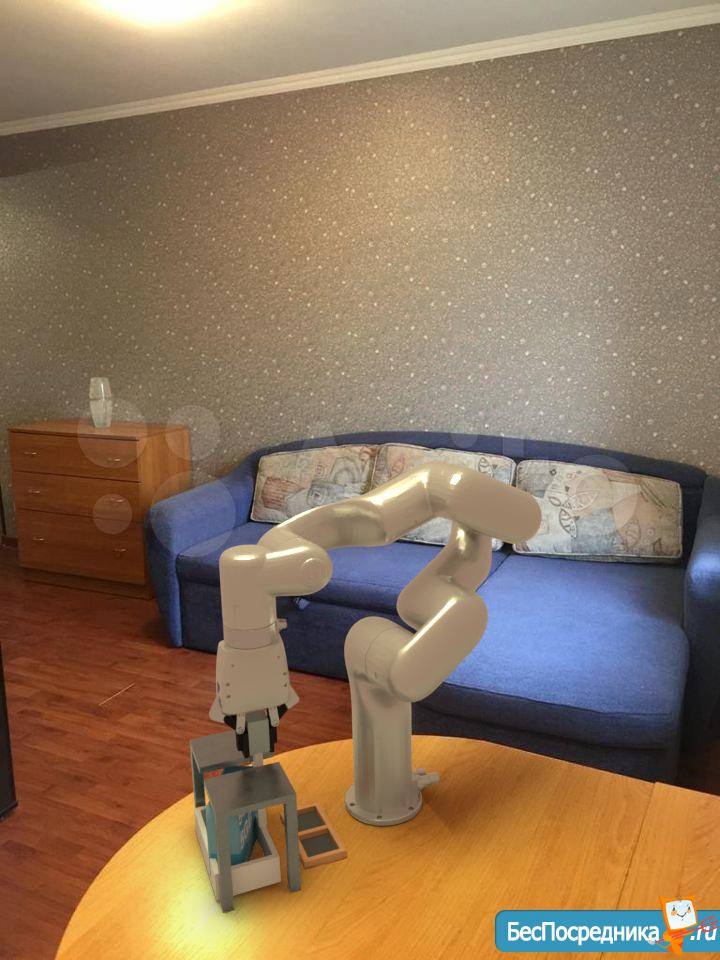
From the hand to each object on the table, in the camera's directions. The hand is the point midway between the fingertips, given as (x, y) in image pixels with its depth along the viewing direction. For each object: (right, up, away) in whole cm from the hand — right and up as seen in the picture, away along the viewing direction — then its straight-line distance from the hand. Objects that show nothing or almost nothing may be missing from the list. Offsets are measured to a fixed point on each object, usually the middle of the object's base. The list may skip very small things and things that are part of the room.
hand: (257, 749), depth 114 cm
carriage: (-3, -17, +2) cm, 17 cm away
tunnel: (-2, -17, +2) cm, 17 cm away
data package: (-3, -17, +2) cm, 17 cm away
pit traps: (+8, -16, +6) cm, 18 cm away
